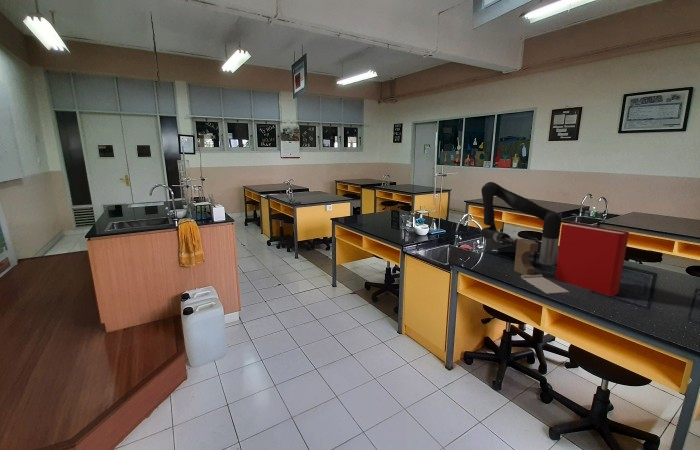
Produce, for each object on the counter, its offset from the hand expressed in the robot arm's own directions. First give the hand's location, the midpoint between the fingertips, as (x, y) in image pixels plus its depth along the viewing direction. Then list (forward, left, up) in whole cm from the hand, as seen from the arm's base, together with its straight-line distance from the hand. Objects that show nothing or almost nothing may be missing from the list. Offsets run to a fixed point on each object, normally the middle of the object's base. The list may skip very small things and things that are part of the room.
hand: (517, 244), depth 197 cm
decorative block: (0, +9, -15) cm, 18 cm away
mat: (0, +26, -15) cm, 30 cm away
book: (-21, +30, -15) cm, 40 cm away
